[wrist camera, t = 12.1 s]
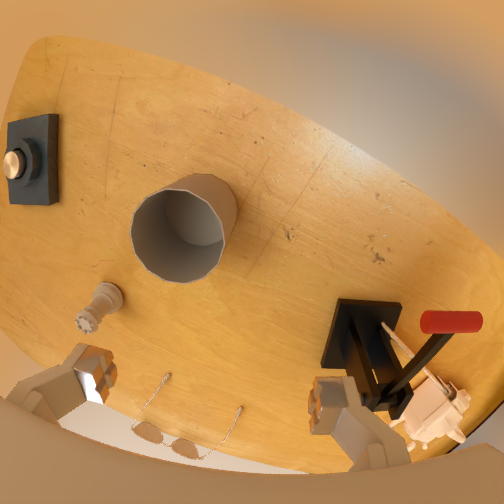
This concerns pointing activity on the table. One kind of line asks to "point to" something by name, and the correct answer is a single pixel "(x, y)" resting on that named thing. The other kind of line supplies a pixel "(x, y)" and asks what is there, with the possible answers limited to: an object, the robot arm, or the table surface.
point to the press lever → (429, 348)
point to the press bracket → (366, 349)
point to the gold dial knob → (14, 164)
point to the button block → (35, 160)
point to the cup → (184, 228)
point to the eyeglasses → (177, 446)
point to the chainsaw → (432, 407)
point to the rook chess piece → (99, 307)
